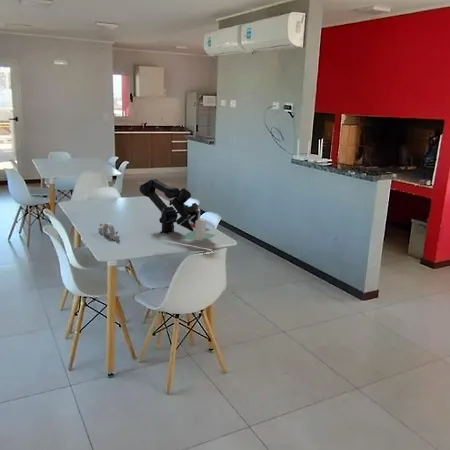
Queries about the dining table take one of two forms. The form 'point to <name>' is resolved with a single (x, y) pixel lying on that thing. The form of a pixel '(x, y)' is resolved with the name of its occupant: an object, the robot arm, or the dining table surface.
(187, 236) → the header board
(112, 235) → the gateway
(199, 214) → the ink box
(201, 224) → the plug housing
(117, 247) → the dining table surface
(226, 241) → the dining table surface
